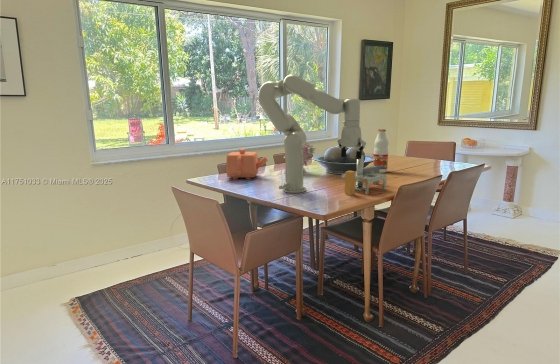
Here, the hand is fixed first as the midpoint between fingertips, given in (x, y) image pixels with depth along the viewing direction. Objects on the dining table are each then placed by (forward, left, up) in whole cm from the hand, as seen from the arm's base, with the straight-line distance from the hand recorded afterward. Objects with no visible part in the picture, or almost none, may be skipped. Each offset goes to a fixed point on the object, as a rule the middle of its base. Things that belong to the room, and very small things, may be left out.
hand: (351, 157), depth 190 cm
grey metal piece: (+13, +2, -19) cm, 23 cm away
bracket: (+22, +4, -19) cm, 29 cm away
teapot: (-16, +69, -19) cm, 74 cm away
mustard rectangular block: (-1, -1, -19) cm, 19 cm away
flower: (+15, +56, -19) cm, 61 cm away
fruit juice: (+59, +24, -19) cm, 66 cm away
